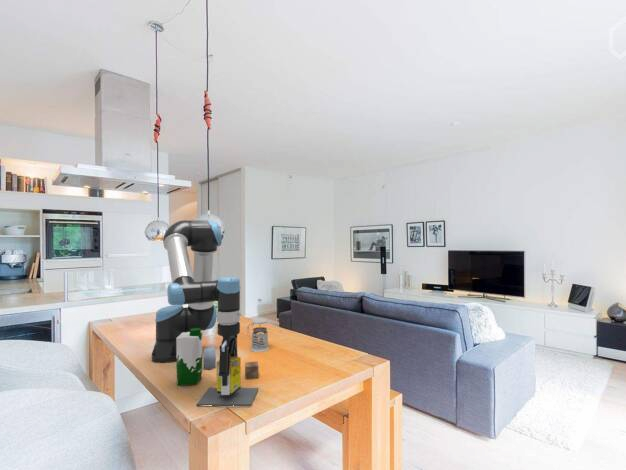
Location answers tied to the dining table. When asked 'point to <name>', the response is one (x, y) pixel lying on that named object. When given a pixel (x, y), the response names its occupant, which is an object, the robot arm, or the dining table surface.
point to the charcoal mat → (229, 397)
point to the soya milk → (189, 357)
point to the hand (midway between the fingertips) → (228, 389)
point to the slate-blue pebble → (209, 358)
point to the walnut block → (251, 370)
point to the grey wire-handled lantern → (259, 335)
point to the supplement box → (231, 375)
